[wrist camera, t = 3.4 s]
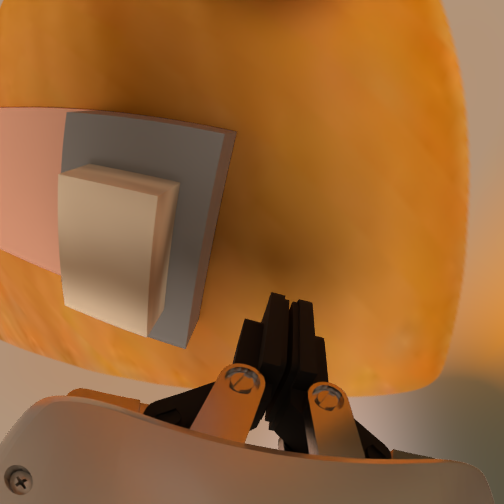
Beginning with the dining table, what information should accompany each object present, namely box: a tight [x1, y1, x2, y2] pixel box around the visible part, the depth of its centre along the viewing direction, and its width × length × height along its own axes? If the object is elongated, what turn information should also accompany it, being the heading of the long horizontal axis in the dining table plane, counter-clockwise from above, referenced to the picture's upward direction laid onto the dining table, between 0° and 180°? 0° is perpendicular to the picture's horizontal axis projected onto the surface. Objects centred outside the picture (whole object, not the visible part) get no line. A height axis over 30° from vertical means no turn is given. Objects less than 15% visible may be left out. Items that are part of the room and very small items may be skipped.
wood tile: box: [58, 164, 180, 337], centre depth 13 cm, size 7×5×2 cm
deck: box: [61, 110, 237, 349], centre depth 16 cm, size 12×8×3 cm
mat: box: [0, 107, 93, 275], centre depth 17 cm, size 12×10×1 cm
